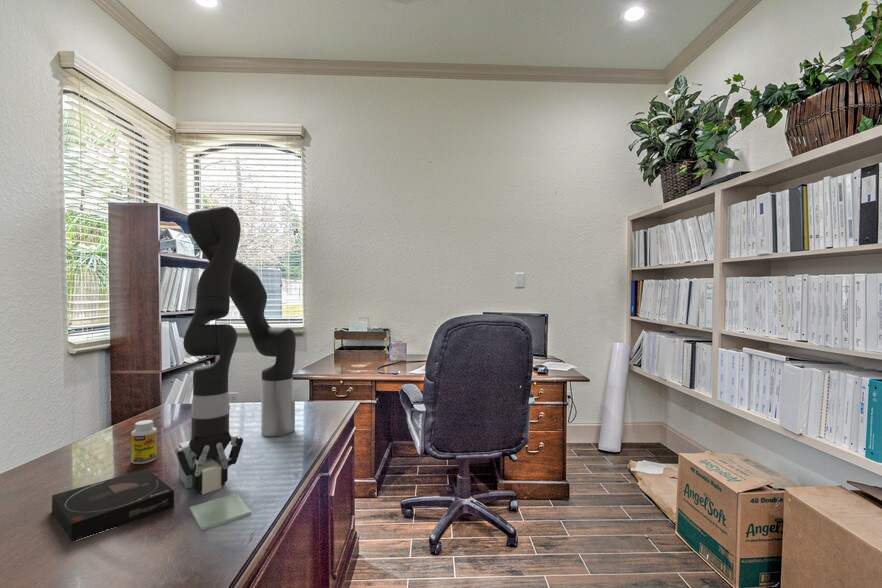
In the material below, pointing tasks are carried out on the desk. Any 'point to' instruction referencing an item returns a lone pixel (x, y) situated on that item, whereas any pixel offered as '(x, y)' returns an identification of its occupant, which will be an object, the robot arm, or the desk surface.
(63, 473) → the desk surface
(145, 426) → the supplement bottle
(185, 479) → the dispenser
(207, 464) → the beige rectangular block
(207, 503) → the mat
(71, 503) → the portable cd player
